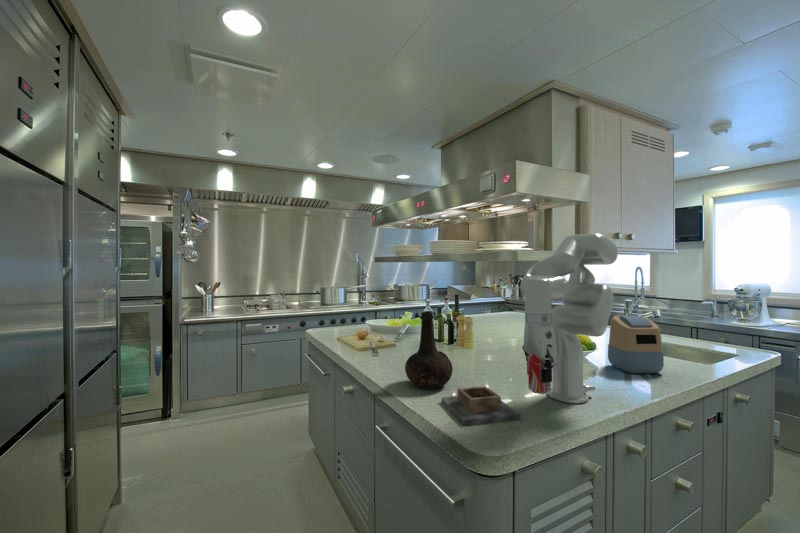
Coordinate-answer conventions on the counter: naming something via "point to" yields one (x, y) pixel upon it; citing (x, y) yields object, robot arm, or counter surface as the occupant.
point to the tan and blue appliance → (635, 345)
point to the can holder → (479, 406)
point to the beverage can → (536, 375)
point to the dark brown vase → (428, 359)
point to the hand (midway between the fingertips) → (539, 377)
